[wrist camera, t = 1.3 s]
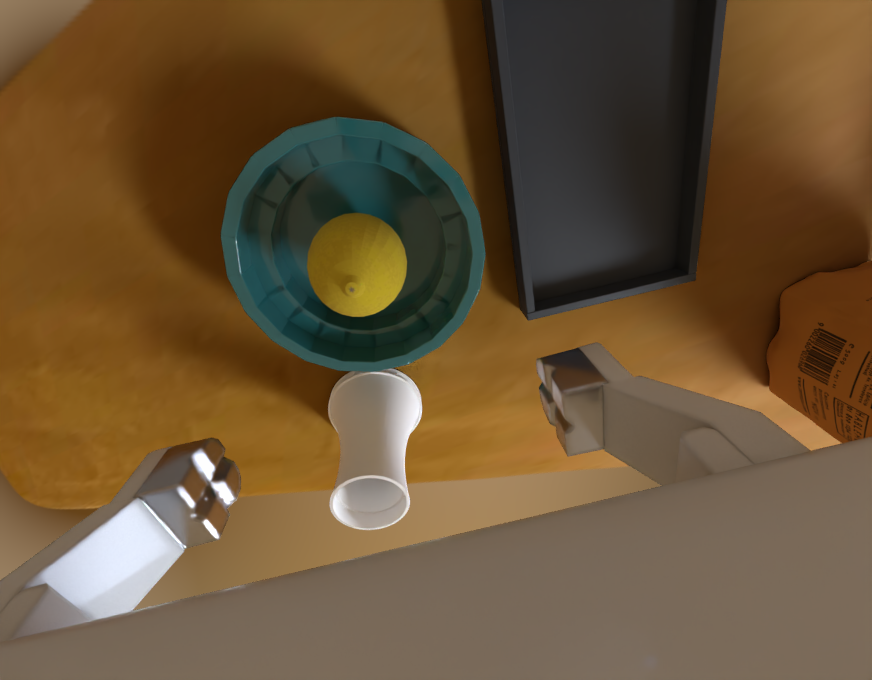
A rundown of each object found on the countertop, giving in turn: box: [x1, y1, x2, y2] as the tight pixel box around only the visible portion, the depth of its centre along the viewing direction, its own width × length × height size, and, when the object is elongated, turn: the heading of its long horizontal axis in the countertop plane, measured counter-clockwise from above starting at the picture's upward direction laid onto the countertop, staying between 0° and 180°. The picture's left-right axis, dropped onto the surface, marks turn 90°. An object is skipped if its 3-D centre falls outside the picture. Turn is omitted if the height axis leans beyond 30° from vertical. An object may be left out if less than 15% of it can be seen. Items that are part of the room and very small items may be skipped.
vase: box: [328, 368, 422, 530], centre depth 28 cm, size 8×8×10 cm
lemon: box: [307, 213, 407, 317], centre depth 23 cm, size 6×6×8 cm
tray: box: [482, 0, 727, 320], centre depth 24 cm, size 19×12×2 cm, turn 12°
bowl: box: [221, 116, 486, 372], centre depth 25 cm, size 15×15×4 cm
